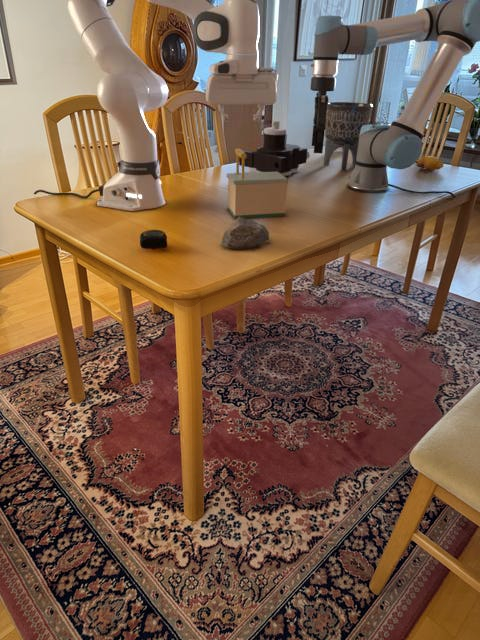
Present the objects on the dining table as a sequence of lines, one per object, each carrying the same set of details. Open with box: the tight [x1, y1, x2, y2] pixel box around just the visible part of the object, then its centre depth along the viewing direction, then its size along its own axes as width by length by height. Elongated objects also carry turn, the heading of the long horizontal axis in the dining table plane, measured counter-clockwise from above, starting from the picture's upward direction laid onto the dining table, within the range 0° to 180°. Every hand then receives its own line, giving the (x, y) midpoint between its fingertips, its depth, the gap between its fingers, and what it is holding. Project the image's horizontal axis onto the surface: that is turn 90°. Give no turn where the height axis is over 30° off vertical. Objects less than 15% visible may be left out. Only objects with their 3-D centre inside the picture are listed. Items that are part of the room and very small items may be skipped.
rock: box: [221, 217, 270, 250], centre depth 119 cm, size 13×9×6 cm, turn 131°
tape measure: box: [139, 229, 168, 250], centre depth 117 cm, size 7×7×4 cm
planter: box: [323, 101, 374, 172], centre depth 204 cm, size 20×20×26 cm
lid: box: [226, 147, 288, 185], centre depth 139 cm, size 17×10×9 cm, turn 104°
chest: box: [227, 178, 288, 220], centre depth 144 cm, size 16×10×10 cm, turn 104°
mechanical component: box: [239, 120, 311, 177], centre depth 191 cm, size 22×21×30 cm
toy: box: [414, 155, 445, 172], centre depth 208 cm, size 11×6×15 cm
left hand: (241, 121), depth 132 cm, fingers open, 8 cm apart
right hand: (316, 149), depth 150 cm, fingers open, 13 cm apart
